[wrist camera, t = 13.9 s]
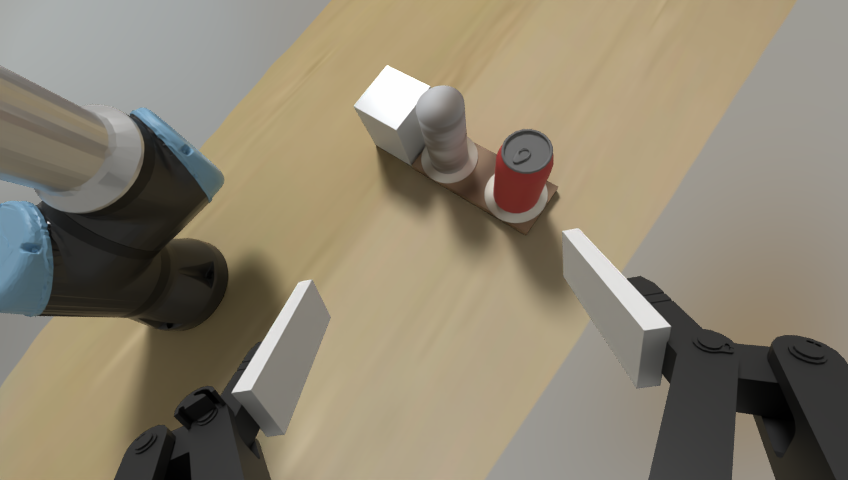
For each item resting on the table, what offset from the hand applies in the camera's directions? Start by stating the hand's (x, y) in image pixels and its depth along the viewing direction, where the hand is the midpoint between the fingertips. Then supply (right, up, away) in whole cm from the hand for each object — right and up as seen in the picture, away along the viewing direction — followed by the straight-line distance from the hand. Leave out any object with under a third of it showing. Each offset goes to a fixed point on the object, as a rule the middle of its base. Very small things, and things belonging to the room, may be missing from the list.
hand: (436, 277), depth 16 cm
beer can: (+13, +9, +30) cm, 34 cm away
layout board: (+8, +12, +33) cm, 36 cm away
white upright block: (-4, +20, +37) cm, 42 cm away
